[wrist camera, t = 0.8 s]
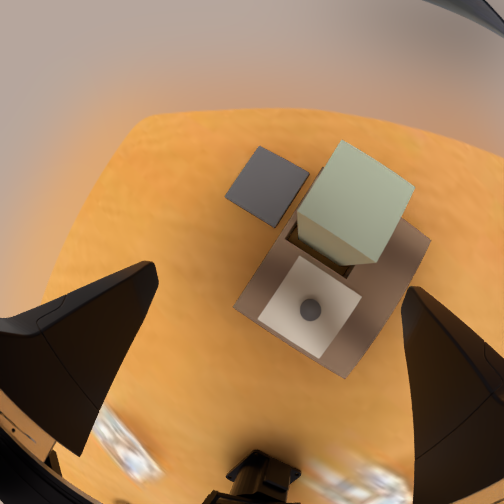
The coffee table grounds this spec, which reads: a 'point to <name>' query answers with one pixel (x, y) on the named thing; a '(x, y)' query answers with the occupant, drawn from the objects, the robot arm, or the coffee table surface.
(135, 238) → the coffee table surface
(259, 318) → the brown sliding lid box
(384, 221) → the sage block
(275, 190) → the charcoal mat
